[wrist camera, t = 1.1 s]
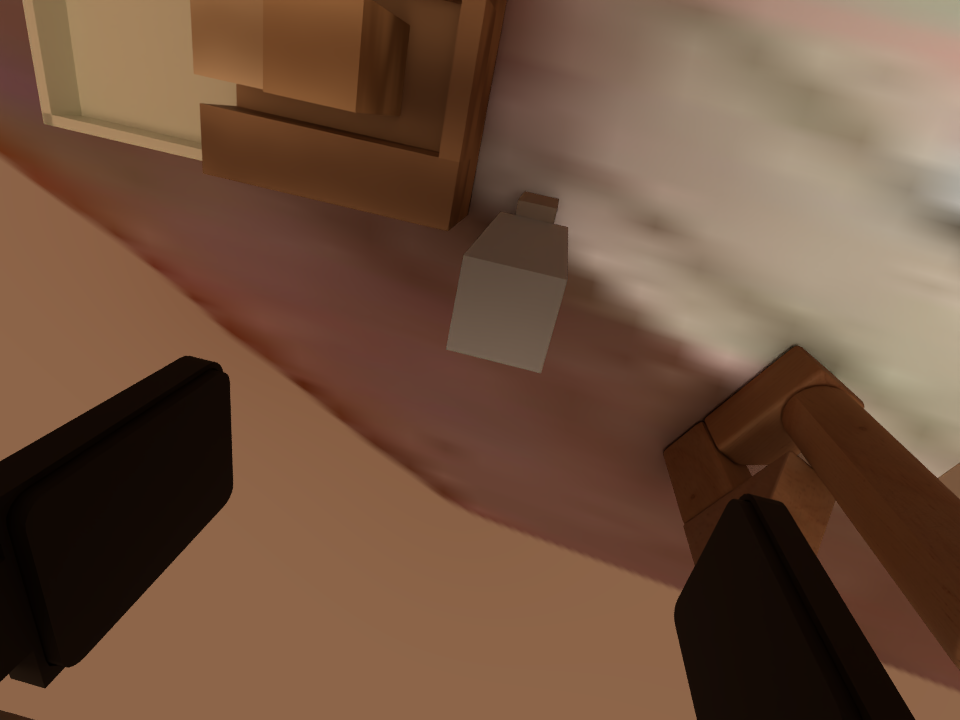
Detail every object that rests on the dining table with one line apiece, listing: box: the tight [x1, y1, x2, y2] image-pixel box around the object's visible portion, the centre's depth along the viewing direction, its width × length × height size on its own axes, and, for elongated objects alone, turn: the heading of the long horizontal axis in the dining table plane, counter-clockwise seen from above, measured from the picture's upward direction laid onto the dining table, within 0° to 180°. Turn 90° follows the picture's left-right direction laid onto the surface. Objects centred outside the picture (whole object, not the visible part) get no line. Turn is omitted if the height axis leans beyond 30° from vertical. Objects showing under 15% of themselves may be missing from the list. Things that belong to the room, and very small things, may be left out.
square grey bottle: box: [446, 191, 568, 373], centre depth 23 cm, size 5×4×14 cm
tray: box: [22, 0, 237, 161], centre depth 27 cm, size 13×12×2 cm
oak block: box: [263, 0, 410, 116], centre depth 22 cm, size 4×4×6 cm
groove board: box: [200, 0, 507, 231], centre depth 25 cm, size 13×13×6 cm
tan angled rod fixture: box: [663, 346, 960, 670], centre depth 24 cm, size 4×11×18 cm, turn 142°
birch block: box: [190, 0, 263, 89], centre depth 23 cm, size 4×4×4 cm
